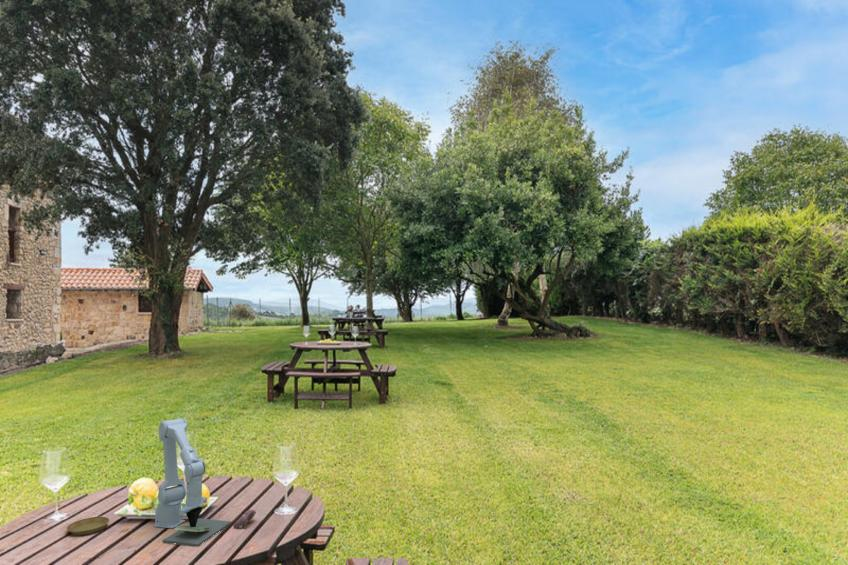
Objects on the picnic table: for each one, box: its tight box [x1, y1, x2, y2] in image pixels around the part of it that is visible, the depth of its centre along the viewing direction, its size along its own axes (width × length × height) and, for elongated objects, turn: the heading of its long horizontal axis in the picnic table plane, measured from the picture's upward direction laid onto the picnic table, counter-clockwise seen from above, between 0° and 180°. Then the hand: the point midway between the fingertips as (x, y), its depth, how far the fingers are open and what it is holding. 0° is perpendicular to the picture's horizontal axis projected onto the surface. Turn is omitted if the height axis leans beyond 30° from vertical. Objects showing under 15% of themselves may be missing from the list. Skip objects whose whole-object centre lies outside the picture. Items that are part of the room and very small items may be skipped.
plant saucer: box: [66, 516, 110, 536], centre depth 208 cm, size 15×15×3 cm
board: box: [161, 517, 232, 547], centre depth 205 cm, size 16×22×1 cm
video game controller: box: [232, 508, 257, 529], centre depth 213 cm, size 10×5×7 cm, turn 170°
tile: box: [174, 524, 211, 532], centre depth 202 cm, size 9×10×1 cm
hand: (192, 526), depth 201 cm, fingers closed, pressing on tile
